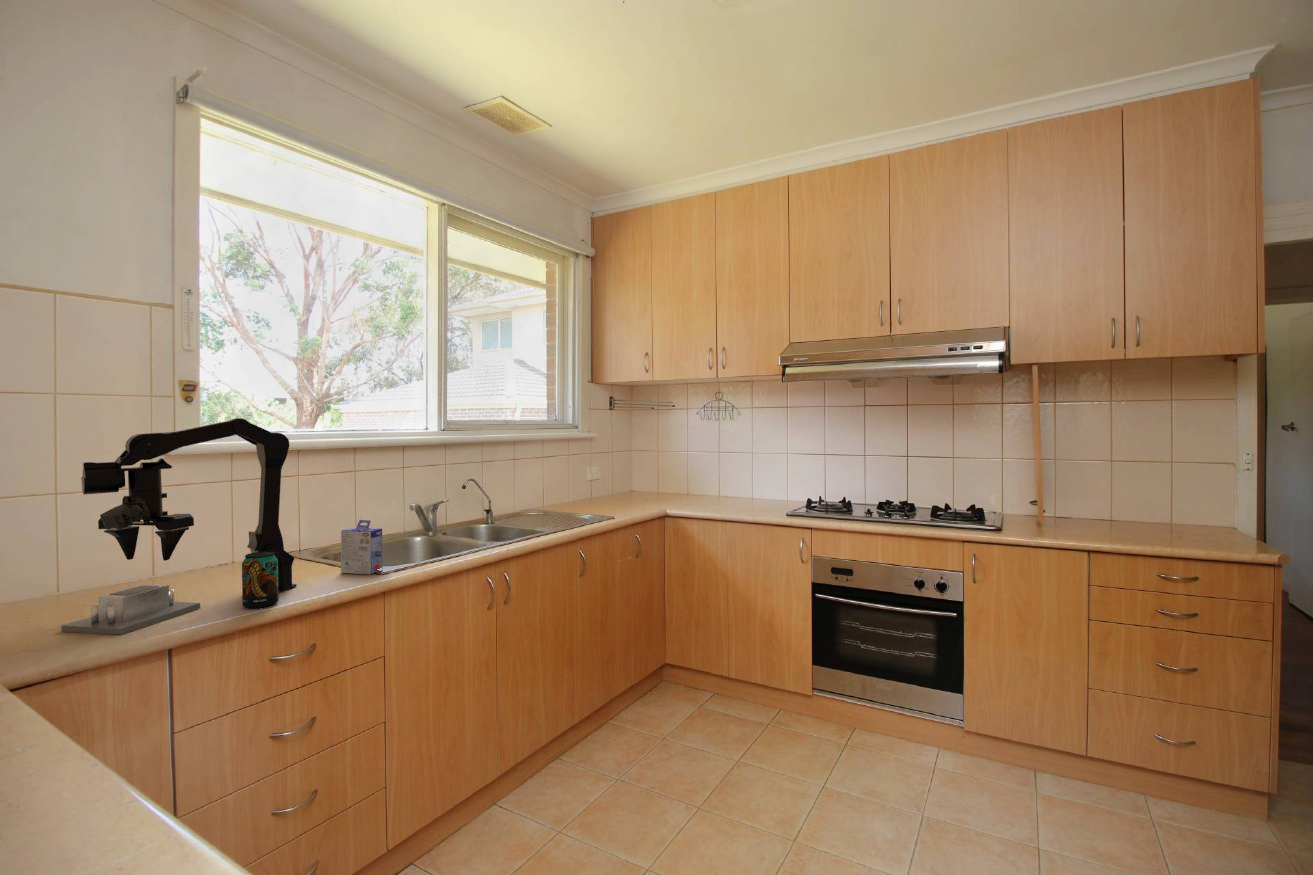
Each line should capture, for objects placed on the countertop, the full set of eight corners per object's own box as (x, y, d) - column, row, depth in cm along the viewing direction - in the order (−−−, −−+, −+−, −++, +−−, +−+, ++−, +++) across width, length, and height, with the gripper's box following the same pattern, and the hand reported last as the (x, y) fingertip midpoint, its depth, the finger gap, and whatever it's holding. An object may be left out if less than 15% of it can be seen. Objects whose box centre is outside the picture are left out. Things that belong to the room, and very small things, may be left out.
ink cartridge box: (384, 570, 177) (383, 520, 177) (371, 575, 172) (370, 523, 171) (353, 568, 179) (352, 519, 179) (340, 573, 174) (339, 522, 173)
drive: (169, 607, 138) (168, 584, 138) (123, 621, 128) (122, 597, 128) (146, 606, 139) (146, 583, 139) (99, 620, 129) (98, 595, 129)
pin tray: (200, 608, 141) (199, 587, 141) (120, 634, 123) (119, 611, 123) (147, 605, 143) (147, 585, 143) (61, 631, 126) (60, 608, 126)
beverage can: (240, 611, 139) (239, 558, 138) (244, 603, 145) (243, 552, 144) (277, 607, 142) (276, 555, 141) (279, 599, 148) (278, 549, 148)
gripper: (70, 494, 131) (73, 567, 132) (147, 495, 129) (150, 569, 129) (122, 488, 142) (125, 555, 143) (194, 488, 140) (197, 557, 140)
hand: (148, 559), depth 138 cm, fingers open, 9 cm apart
